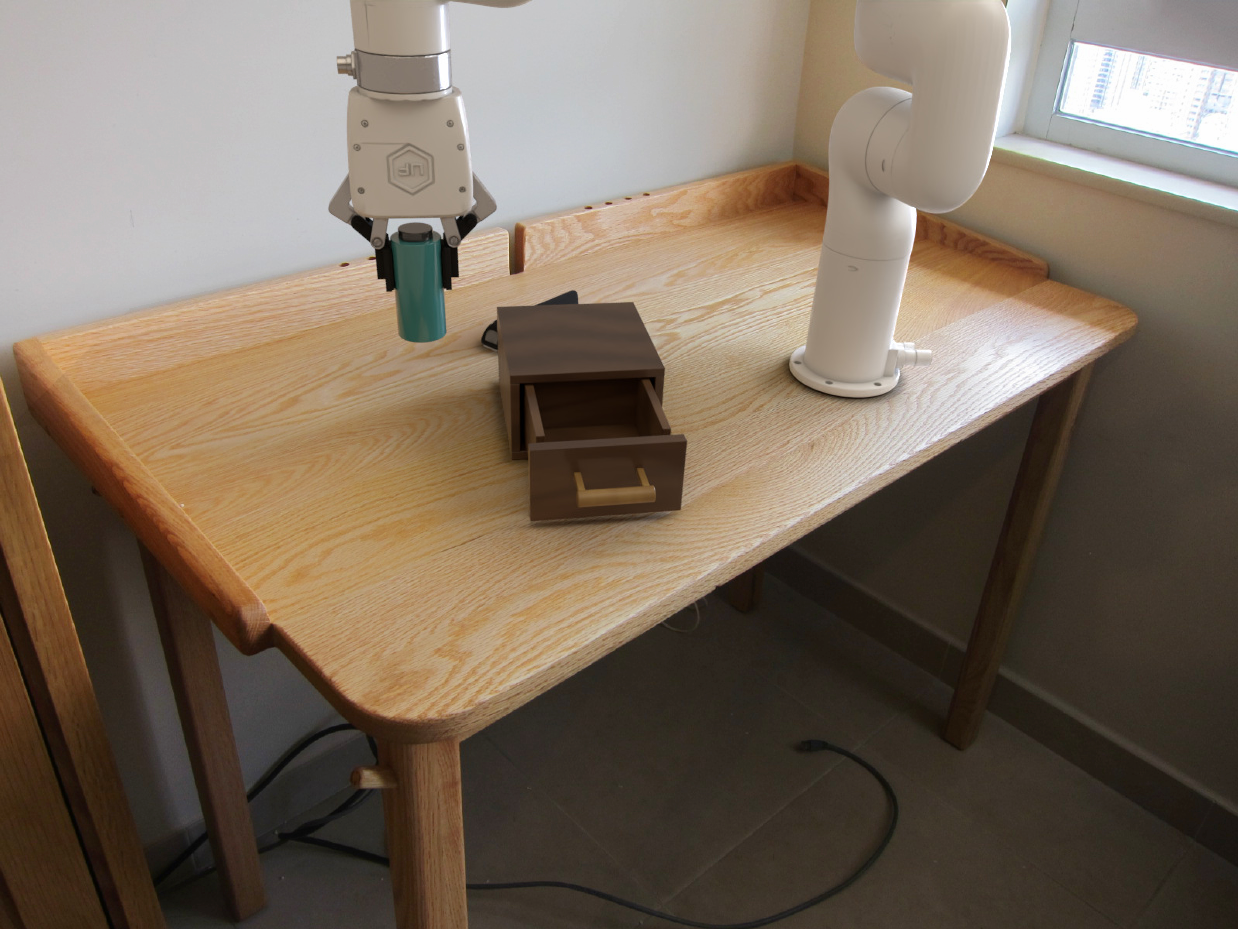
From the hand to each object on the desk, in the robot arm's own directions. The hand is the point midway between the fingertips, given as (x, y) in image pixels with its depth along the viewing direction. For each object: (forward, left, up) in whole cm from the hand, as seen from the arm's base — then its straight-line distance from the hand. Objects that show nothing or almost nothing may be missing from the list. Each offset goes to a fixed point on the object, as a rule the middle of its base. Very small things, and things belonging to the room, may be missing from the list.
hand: (419, 283), depth 89 cm
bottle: (0, 0, -5) cm, 5 cm away
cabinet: (-14, -7, -17) cm, 23 cm away
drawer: (-17, +8, -16) cm, 24 cm away
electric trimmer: (-8, -28, -17) cm, 34 cm away
